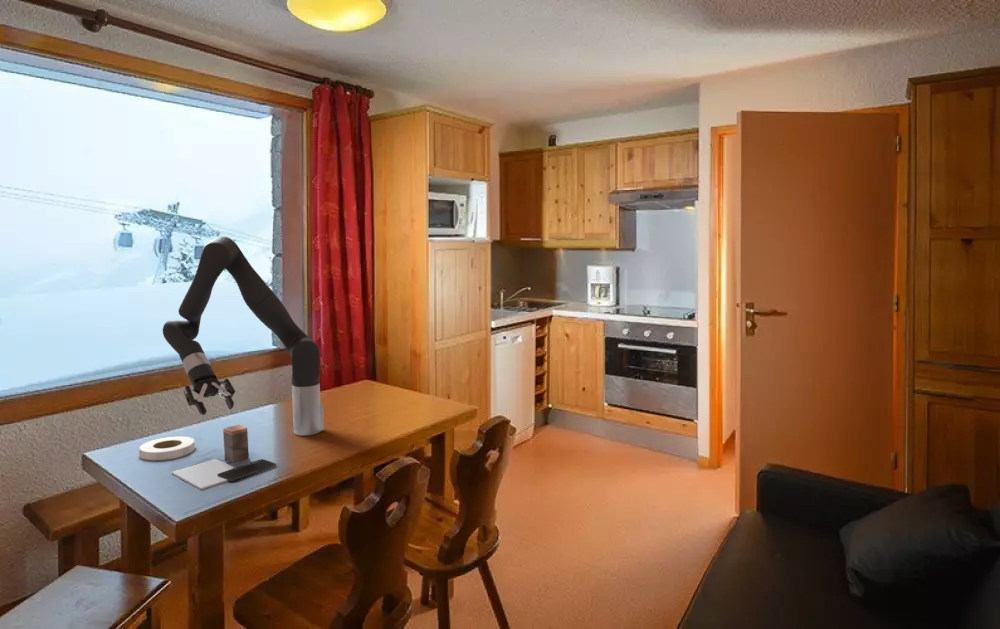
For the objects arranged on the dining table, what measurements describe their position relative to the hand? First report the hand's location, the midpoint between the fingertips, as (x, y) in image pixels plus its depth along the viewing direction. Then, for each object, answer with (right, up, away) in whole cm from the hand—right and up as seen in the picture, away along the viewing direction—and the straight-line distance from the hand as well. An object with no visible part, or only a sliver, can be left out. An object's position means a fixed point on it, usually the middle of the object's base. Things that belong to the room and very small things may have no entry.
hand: (218, 410), depth 190 cm
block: (+8, -14, -4) cm, 17 cm away
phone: (+15, -16, -14) cm, 26 cm away
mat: (+5, -16, -16) cm, 23 cm away
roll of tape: (-17, -14, +2) cm, 22 cm away
